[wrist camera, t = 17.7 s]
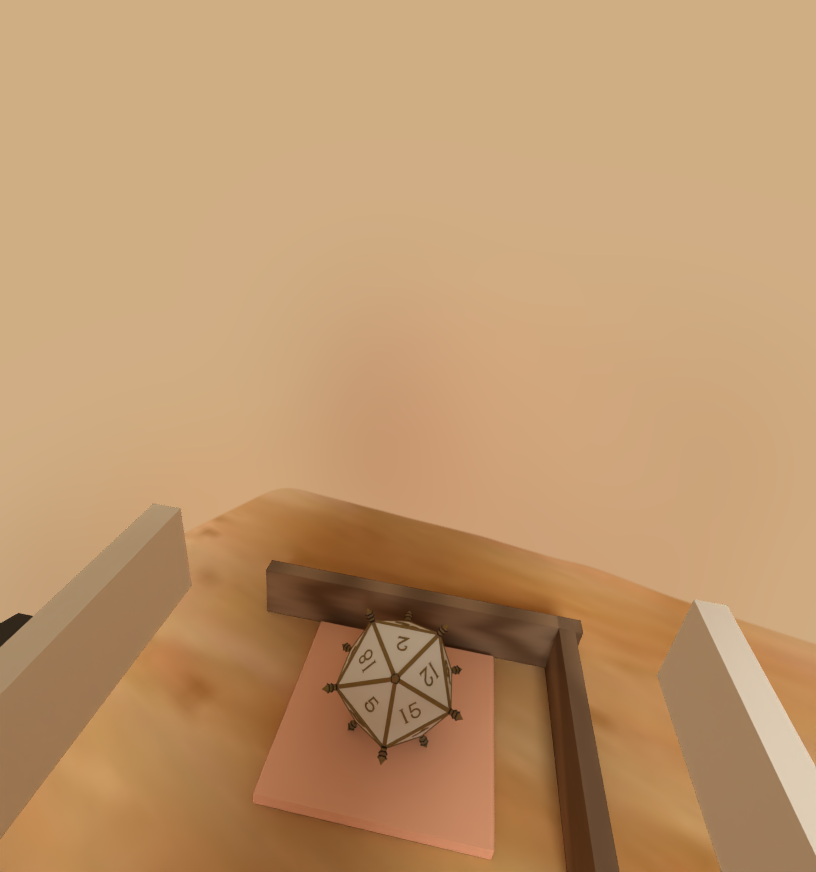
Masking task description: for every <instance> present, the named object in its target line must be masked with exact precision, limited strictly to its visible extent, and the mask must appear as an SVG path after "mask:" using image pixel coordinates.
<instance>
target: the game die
mask: <svg viewBox="0 0 816 872" xmlns="http://www.w3.org/2000/svg"><path fill="white" fill-rule="evenodd" d="M365 616H366V617H367V619H368V620H369V621H370V623H369V624H368V625H367V627H366V628H365V630H364V631H363V632H362V634H361V635H360V636H359V638H358V639H357V641H356V642H355V643H354V645H353V646H352V647H351V645H350V644H348V643H345V644H342V647H343V651H344V650H345V652H349V654H348V656H347V658H346V661H345V663H344V666H343V668H342V671H341V673H340V675H339V678H338V680H337V683H336V684H332V683H331V684H328V683H327V685H326V686H325V687H323V688H322V690H324V691H325V692H327V694H328V693H329V692H331V693H332V692H333V691H335V690H336V691H337V692H338V694H339V696H340V697H341V699H342V701H343V702H344V704H345V706H346V707H347V709H348V711H349V712H350V714H351V716H352V717H353V719H354V720H352V721H350V723H348V730H353V731H354V728H356V726H357V724H358V725H359V726H360V727H361V728H362V729H363V730H364V731H365V732H366V733H367V734H368V735H369V736H370V737H371V738H372V739H373V740H374V741H375V742H376V743H377V744H378V745H379V746H380V747H381V750H380V751H379V752H378V753H379V755H378V756H377V758H378V759H379V762H380V765H382V763H383V762H384V761H385V760H387V758H386V756H387V755H388V754H387V748H390V747H393V746H396V745H399V744H402V743H405V742H408V741H411V740H414V739H417V738H420V739H419V742H420V743H421V746H424V747H426V748H427V744H428V742H429V741H428V740H427V737H426V736H424V734H426V733H427V732H428V731H429V730H431V729H432V728H433V727H434V726H436V725H437V724H438V723H439V722H440V721H442V720H443V719H444V718H445V717H447V716H448V715H450V716H451V717H452V719H455V721H457V720H463V718H462V716H461V714H460V711H459V712H458V711H457V710H453V709H452V673H453V674H455V675H456V674H459V673H460V672H461V670H462V669H461V668H460V667H458V665H457V666H454V667H453V668H451V665H450V662H449V659H448V656H447V653H446V650H445V647H444V644H443V641H442V638H441V636H442V635H445V633H446V632H448V625H449V624H447V625H441V627H439V631H438V632H435V631H433V630H430V629H428V628H425V627H423V626H420V625H418V624H415V623H413V622H410V621H411V619H412V616H413V615H412V614H411V612H410V611H409V612H407V613H406V614H405V620H375V619H374V614H373V611H371V610H369V609H368V608H367V609H366V614H365Z"/></svg>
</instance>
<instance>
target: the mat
mask: <svg viewBox="0 0 816 872" xmlns="http://www.w3.org/2000/svg"><path fill="white" fill-rule="evenodd" d="M363 631H364V630H362V629H357V628H352V627H347V626H342V625H338V624H333V623H328V622H323V621H321V623H320V625H319V628H318V631H317V633H316V636H315V638H314V641H313V643H312V646H311V648H310V651H309V653H308V656H307V658H306V661H305V663H304V666H303V668H302V671H301V673H300V676H299V678H298V681H297V684H296V686H295V689H294V691H293V694H292V696H291V699H290V701H289V704H288V706H287V709H286V711H285V714H284V716H283V719H282V721H281V724H280V726H279V729H278V731H277V734H276V737H275V739H274V742H273V744H272V747H271V749H270V752H269V754H268V757H267V759H266V762H265V764H264V767H263V769H262V772H261V774H260V777H259V779H258V782H257V784H256V787H255V790H254V792H253V803H255V804H259V805H264V806H268V807H272V808H276V809H280V810H284V811H289V812H293V813H297V814H301V815H305V816H310V817H314V818H318V819H322V820H326V821H330V822H335V823H339V824H343V825H347V826H351V827H356V828H360V829H364V830H368V831H372V832H376V833H381V834H385V835H389V836H393V837H397V838H402V839H406V840H410V841H414V842H418V843H422V844H427V845H431V846H435V847H439V848H443V849H448V850H452V851H456V852H460V853H464V854H468V855H473V856H477V857H481V858H485V859H489V860H491V858H492V856H493V853H494V656H489V655H484V654H479V653H474V652H469V651H465V650H460V649H455V648H450V647H445V646H444V647H445V650H446V653H447V656H448V659H449V662H450V665H451V668H453V667H454V666H457V665H458V667H460V668H461V669H462V670H461V672H460V673H459V674H456V675H455V674H453V673H452V709H453V710H457V711H458V712H459V711H460V714H461V716H462V718H463V720H457V721H455V719H452V717H451V716H450V715H448V716H447V717H445V718H444V719H443V720H442V721H440V722H439V723H438V724H437V725H436V726H434V727H433V728H432V729H431V730H429V731H428V732H427V733H426V734H424V736H426V737H427V740H428V741H429V742H428V744H427V748H426V747H424V746H421V743H420V742H419V739H420V738H417V739H414V740H411V741H408V742H405V743H402V744H399V745H396V746H393V747H390V748H387V754H388V755H387V756H386V758H387V760H385V761H384V762H383V763H382V765H380V762H379V759H378V758H377V756H378V755H379V753H378V752H379V751H380V750H381V747H380V746H379V745H378V744H377V743H376V742H375V741H374V740H373V739H372V738H371V737H370V736H369V735H368V734H367V733H366V732H365V731H364V730H363V729H362V728H361V727H360V726H359V725H358V724H357V726H356V728H354V731H353V730H348V723H350V721H352V720H354V719H353V717H352V716H351V714H350V712H349V711H348V709H347V707H346V706H345V704H344V702H343V701H342V699H341V697H340V696H339V694H338V692H337V691H336V690H335V691H333V692H332V693H331V692H329V693H328V694H327V692H325V691H324V690H322V688H323V687H325V686H326V685H327V683H328V684H331V683H332V684H336V683H337V680H338V678H339V675H340V673H341V671H342V668H343V666H344V663H345V661H346V658H347V656H348V654H349V652H345V650H344V651H343V647H342V644H345V643H348V644H350V645H351V647H352V646H353V645H354V643H355V642H356V641H357V639H358V638H359V636H360V635H361V634H362V632H363Z"/></svg>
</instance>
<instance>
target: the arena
mask: <svg viewBox="0 0 816 872" xmlns="http://www.w3.org/2000/svg"><path fill="white" fill-rule="evenodd" d="M266 580H267V611H271V612H276V613H281V614H285V615H290V616H295V617H300V618H305V619H310V620H315V621H320V622H321V621H323V622H328V623H333V624H338V625H342V626H347V627H352V628H357V629H362V630H365V628H366V627H367V625H368V624H369V623H370V621H369V620H368V619H367V617H366V616H365V614H366V609H367V608H368V609H369V610H371V611H373V614H374V619H375V620H405V614H406V613H407V612H409V611H410V612H411V614H412V615H413V616H412V619H411V621H410V622H413V623H415V624H418V625H420V626H423V627H425V628H428V629H430V630H433V631H435V632H438V631H439V627H441V625H447V624H449V625H448V632H446V633H445V635H442V636H441V638H442V641H443V644H444V646H445V647H450V648H455V649H460V650H465V651H469V652H474V653H479V654H484V655H489V656H494V657H495V658H500V659H505V660H510V661H515V662H520V663H525V664H529V665H534V666H539V667H544V668H545V672H546V681H547V690H548V699H549V709H550V718H551V727H552V736H553V746H554V755H555V764H556V773H557V782H558V792H559V801H560V810H561V819H562V829H563V838H564V847H565V856H566V866H567V872H619V866H618V861H617V856H616V850H615V845H614V839H613V834H612V828H611V823H610V818H609V812H608V807H607V801H606V796H605V791H604V785H603V780H602V774H601V769H600V764H599V758H598V753H597V747H596V742H595V736H594V731H593V726H592V720H591V715H590V709H589V704H588V699H587V693H586V688H585V682H584V677H583V672H582V666H581V661H580V655H579V650H578V644H579V642H580V639H581V637H582V634H583V630H582V625H581V621H580V620H575V619H570V618H565V617H560V616H555V615H550V614H545V613H540V612H534V611H529V610H524V609H519V608H514V607H509V606H504V605H499V604H494V603H488V602H483V601H478V600H473V599H468V598H463V597H458V596H453V595H448V594H443V593H437V592H432V591H427V590H422V589H417V588H412V587H407V586H402V585H397V584H392V583H386V582H381V581H376V580H371V579H366V578H361V577H356V576H351V575H346V574H340V573H335V572H330V571H325V570H320V569H315V568H310V567H305V566H300V565H295V564H289V563H284V562H279V561H274V560H272V561H271V563H270V565H269V566H268V568H267V570H266Z"/></svg>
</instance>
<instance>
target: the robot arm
mask: <svg viewBox="0 0 816 872" xmlns="http://www.w3.org/2000/svg"><path fill="white" fill-rule="evenodd" d="M191 586H192V585H191V578H190V571H189V564H188V557H187V550H186V544H185V537H184V530H183V523H182V516H181V509H180V508H175V507H169V506H164V505H158V504H152V505H151V506H150V507H149V508H148V509H147V510H146V511H145V512H144V513H143V514H142V515H141V516H140V517H139V518H138V519H136V520H135V521H134V522H133V523H132V524H131V525H130V526H129V527H128V528H127V529H126V530H125V531H124V532H123V533H122V534H121V535H119V537H117V538H116V539H115V540H114V541H113V542H112V543H111V544H110V545H109V546H108V547H107V548H106V549H105V550H103V551H102V552H101V553H100V554H99V555H98V556H97V557H96V558H95V559H94V560H93V561H92V562H91V563H90V564H89V565H88V566H86V567H85V568H84V569H83V570H82V571H81V572H80V573H79V574H78V575H77V576H76V577H75V578H74V579H73V580H71V581H70V582H69V583H68V584H67V585H66V586H65V587H64V588H63V589H62V590H61V591H60V592H59V593H58V594H57V595H55V596H54V597H53V598H52V599H51V600H50V601H49V602H48V603H47V604H46V605H45V606H44V607H43V608H42V609H41V610H39V611H38V612H37V613H36V614H35V615H34V616H30V615H25V614H20V613H18V614H16V615H14V616H12V617H11V618H9V619H7V620H5V621H4V622H2V623H0V839H1V838H2V836H3V835H4V834H5V832H6V831H7V830H8V828H9V827H10V826H11V824H12V823H13V822H14V820H15V819H16V818H17V816H18V815H19V814H20V812H21V811H22V810H23V808H24V807H25V806H26V804H27V803H28V802H29V801H30V799H31V798H32V797H33V795H34V794H35V793H36V791H37V790H38V789H39V787H40V786H41V785H42V783H43V782H44V781H45V779H46V778H47V777H48V775H49V774H50V773H51V771H52V770H53V769H54V767H55V766H56V765H57V763H58V762H59V761H60V759H61V758H62V757H63V755H64V754H65V753H66V751H67V750H68V749H69V747H70V746H71V745H72V744H73V742H74V741H75V740H76V738H77V737H78V736H79V734H80V733H81V732H82V730H83V729H84V728H85V726H86V725H87V724H88V722H89V721H90V720H91V718H92V717H93V716H94V714H95V713H96V712H97V710H98V709H99V708H100V706H101V705H102V704H103V702H104V701H105V700H106V698H107V697H108V696H109V694H110V693H111V692H112V691H113V689H114V688H115V687H116V685H117V684H118V683H119V681H120V680H121V679H122V677H123V676H124V675H125V673H126V672H127V671H128V669H129V668H130V667H131V665H132V664H133V663H134V661H135V660H136V659H137V657H138V656H139V655H140V653H141V652H142V651H143V649H144V648H145V647H146V645H147V644H148V643H149V641H150V640H151V639H152V637H153V636H154V635H155V634H156V632H157V631H158V630H159V628H160V627H161V626H162V624H163V623H164V622H165V620H166V619H167V618H168V616H169V615H170V614H171V612H172V611H173V610H174V608H175V607H176V606H177V604H178V603H179V602H180V600H181V599H182V598H183V596H184V595H185V594H186V592H187V591H188V590H189V588H190V587H191ZM657 677H658V680H659V683H660V686H661V689H662V692H663V695H664V698H665V701H666V704H667V707H668V710H669V713H670V717H671V720H672V723H673V726H674V729H675V732H676V735H677V738H678V741H679V744H680V747H681V750H682V753H683V756H684V759H685V762H686V765H687V768H688V771H689V775H690V778H691V781H692V784H693V787H694V790H695V793H696V796H697V799H698V802H699V805H700V808H701V811H702V814H703V817H704V820H705V823H706V826H707V829H708V833H709V836H710V839H711V842H712V845H713V848H714V851H715V854H716V857H717V860H718V863H719V866H720V869H721V872H816V766H815V765H814V763H813V761H812V759H811V757H810V755H809V754H808V752H807V750H806V748H805V746H804V745H803V743H802V741H801V739H800V737H799V735H798V734H797V732H796V730H795V728H794V726H793V724H792V723H791V721H790V719H789V717H788V715H787V714H786V712H785V710H784V708H783V706H782V704H781V703H780V701H779V699H778V697H777V695H776V693H775V692H774V690H773V688H772V686H771V684H770V682H769V681H768V679H767V677H766V675H765V673H764V672H763V670H762V668H761V666H760V664H759V662H758V661H757V659H756V657H755V655H754V653H753V651H752V650H751V648H750V646H749V644H748V642H747V640H746V639H745V637H744V635H743V633H742V631H741V630H740V628H739V626H738V624H737V622H736V620H735V619H734V617H733V615H732V613H731V611H730V609H729V608H728V606H727V605H721V604H716V603H711V602H705V601H700V600H694V601H693V603H692V605H691V607H690V609H689V611H688V613H687V615H686V617H685V619H684V621H683V623H682V625H681V627H680V629H679V631H678V633H677V635H676V637H675V640H674V642H673V644H672V646H671V648H670V650H669V652H668V654H667V656H666V658H665V660H664V662H663V664H662V666H661V668H660V670H659V672H658V674H657Z"/></svg>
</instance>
